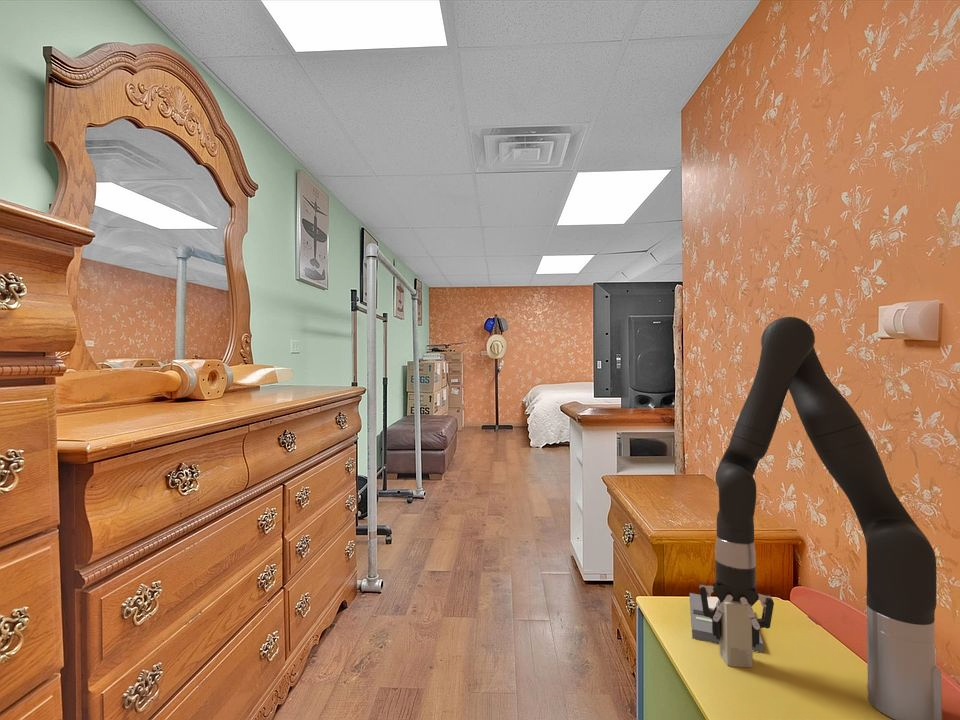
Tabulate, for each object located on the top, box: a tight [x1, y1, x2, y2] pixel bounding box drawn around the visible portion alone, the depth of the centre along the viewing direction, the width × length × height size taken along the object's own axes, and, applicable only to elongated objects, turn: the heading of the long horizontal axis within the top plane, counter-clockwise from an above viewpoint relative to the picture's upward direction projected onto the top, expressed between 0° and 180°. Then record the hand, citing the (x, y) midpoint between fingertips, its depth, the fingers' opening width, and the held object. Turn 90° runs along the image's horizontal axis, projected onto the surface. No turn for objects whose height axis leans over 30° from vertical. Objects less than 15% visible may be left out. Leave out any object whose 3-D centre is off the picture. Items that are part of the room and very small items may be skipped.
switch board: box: [689, 592, 764, 654], centre depth 113 cm, size 14×20×2 cm
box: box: [718, 600, 754, 668], centre depth 98 cm, size 5×4×13 cm
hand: (735, 641), depth 98 cm, fingers closed on box, 6 cm apart
